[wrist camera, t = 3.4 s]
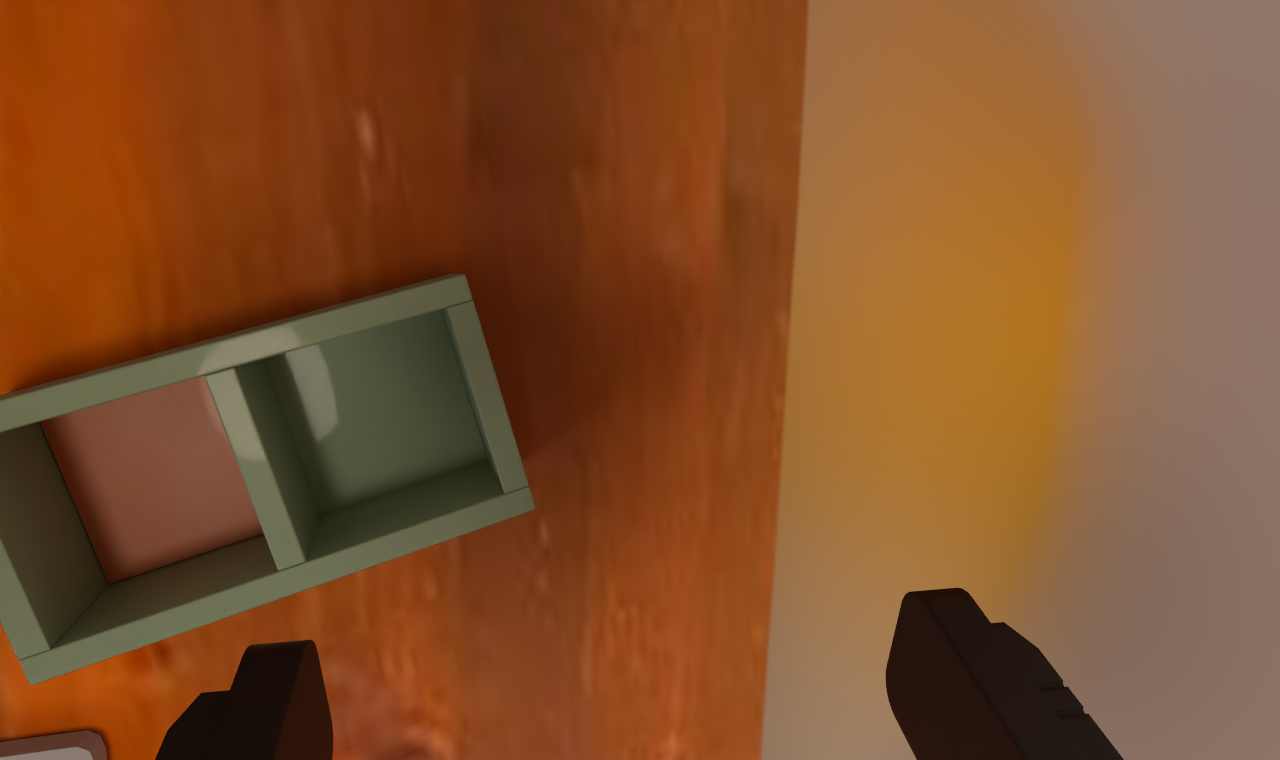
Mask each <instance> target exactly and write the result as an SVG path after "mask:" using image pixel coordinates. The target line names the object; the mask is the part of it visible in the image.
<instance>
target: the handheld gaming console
mask: <svg viewBox="0 0 1280 760" xmlns="http://www.w3.org/2000/svg"><path fill="white" fill-rule="evenodd" d="M0 760H107V753H106V747H105V745H104V742H103V740H102V738H101V736H100V734H97V733H94V732H92V731H89V730H85V731H77V732H70V733H63V734H55V735H48V736H40V737H33V738H26V739H18V740H11V741H4V742H0Z"/></svg>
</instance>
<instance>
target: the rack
mask: <svg viewBox="0 0 1280 760" xmlns="http://www.w3.org/2000/svg"><path fill="white" fill-rule="evenodd" d="M535 509H536V506H535V503H534V500H533V496H532V493H531V490H530V487H529V483H528V480H527V476H526V473H525V470H524V466H523V463H522V460H521V457H520V453H519V450H518V447H517V443H516V440H515V437H514V433H513V430H512V427H511V423H510V420H509V417H508V414H507V410H506V407H505V404H504V400H503V397H502V394H501V390H500V387H499V384H498V380H497V377H496V374H495V371H494V367H493V364H492V361H491V357H490V354H489V351H488V347H487V344H486V341H485V337H484V334H483V331H482V327H481V324H480V321H479V318H478V314H477V311H476V308H475V304H474V302H473V301H472V295H471V291H470V288H469V285H468V281H467V278H466V276H465V275H464V274H447V275H443V276H440V277H436V278H432V279H429V280H425V281H421V282H417V283H414V284H410V285H406V286H403V287H399V288H395V289H392V290H388V291H384V292H380V293H377V294H373V295H369V296H366V297H362V298H358V299H355V300H351V301H347V302H343V303H340V304H336V305H332V306H329V307H325V308H321V309H317V310H314V311H310V312H306V313H303V314H299V315H295V316H292V317H288V318H284V319H280V320H277V321H273V322H269V323H266V324H262V325H258V326H255V327H251V328H247V329H243V330H240V331H236V332H232V333H229V334H225V335H221V336H218V337H214V338H210V339H206V340H203V341H199V342H195V343H192V344H188V345H184V346H180V347H177V348H173V349H169V350H166V351H162V352H158V353H155V354H151V355H147V356H143V357H140V358H136V359H132V360H129V361H125V362H121V363H118V364H114V365H110V366H106V367H103V368H99V369H95V370H92V371H88V372H84V373H81V374H77V375H73V376H69V377H66V378H62V379H58V380H55V381H51V382H47V383H43V384H40V385H36V386H32V387H29V388H25V389H21V390H18V391H14V392H10V393H7V394H4V395H1V396H0V622H1V624H2V627H3V629H4V631H5V633H6V635H7V637H8V640H9V642H10V644H11V646H12V648H13V650H14V653H15V655H16V657H17V659H18V660H20V664H21V666H22V669H23V671H24V673H25V675H26V677H27V679H28V682H29V684H30V685H35V684H38V683H40V682H43V681H46V680H49V679H52V678H55V677H58V676H60V675H63V674H66V673H69V672H72V671H75V670H78V669H80V668H83V667H86V666H89V665H92V664H95V663H98V662H100V661H103V660H106V659H109V658H112V657H115V656H118V655H120V654H123V653H126V652H129V651H132V650H135V649H138V648H141V647H143V646H146V645H149V644H152V643H155V642H158V641H161V640H163V639H166V638H169V637H172V636H175V635H178V634H181V633H183V632H186V631H189V630H192V629H195V628H198V627H201V626H203V625H206V624H209V623H212V622H215V621H218V620H221V619H223V618H226V617H229V616H232V615H235V614H238V613H241V612H243V611H246V610H249V609H252V608H255V607H258V606H261V605H263V604H266V603H269V602H272V601H275V600H278V599H281V598H284V597H286V596H289V595H292V594H295V593H298V592H301V591H304V590H306V589H309V588H312V587H315V586H318V585H321V584H324V583H326V582H329V581H332V580H335V579H338V578H341V577H344V576H346V575H349V574H352V573H355V572H358V571H361V570H364V569H366V568H369V567H372V566H375V565H378V564H381V563H384V562H386V561H389V560H392V559H395V558H398V557H401V556H404V555H406V554H409V553H412V552H415V551H418V550H421V549H424V548H427V547H429V546H432V545H435V544H438V543H441V542H444V541H447V540H449V539H452V538H455V537H458V536H461V535H464V534H467V533H469V532H472V531H475V530H478V529H481V528H484V527H487V526H489V525H492V524H495V523H498V522H501V521H504V520H507V519H509V518H512V517H515V516H518V515H521V514H524V513H527V512H529V511H532V510H535Z"/></svg>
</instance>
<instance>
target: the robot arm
mask: <svg viewBox="0 0 1280 760" xmlns="http://www.w3.org/2000/svg"><path fill="white" fill-rule="evenodd" d="M886 688H887V694H888V698H889V702H890V706H891V709H892V711H893V714H894V716H895V718H896V720H897V722H898V723H899V726H900V727H901V730H902V732H903V734H904V735H905V737H906V739H907V741H908V743H909V745H910V747H911V749H912V751H913V753H914V755H915V757H916V759H917V760H1123V758H1122V757H1121V756H1120V754H1119V753H1118V752H1117V750H1116V749H1115V748H1114V746H1113V745H1112V744H1111V743H1110V741H1109V740H1108V739H1107V737H1106V736H1105V735H1104V733H1103V732H1102V731H1101V729H1100V728H1099V727H1098V726H1097V724H1096V723H1095V722H1094V720H1093V719H1092V718H1091V716H1090V715H1089V714H1085V713H1084V711H1083V706H1082V705H1081V703H1080V702H1079V701H1078V699H1077V698H1076V697H1075V696H1074V694H1073V693H1072V692H1071V690H1070V689H1069V688H1068V687H1064V685H1063V680H1062V679H1061V677H1060V676H1059V675H1058V673H1057V672H1056V671H1055V669H1054V668H1053V667H1052V666H1051V664H1050V663H1049V662H1048V660H1047V659H1046V658H1045V656H1044V655H1043V654H1042V653H1041V651H1040V650H1039V649H1038V648H1037V647H1036V646H1034V645H1033V644H1032V643H1030V642H1029V641H1028V640H1027V639H1025V638H1024V637H1022V636H1021V635H1020V634H1019V633H1017V632H1016V631H1015V630H1013V629H1012V628H1011V627H1009V626H1008V625H1007V624H1005V623H1004V622H1001V623H990V621H989V620H988V619H987V617H986V616H985V615H984V613H983V612H982V610H981V609H980V608H979V606H978V605H977V604H976V602H975V601H974V599H973V598H972V597H971V596H970V594H969V593H968V592H966V591H965V590H964V589H961V588H950V589H938V590H926V591H914V592H909V593H907V594H906V595H905V596H904V598H903V600H902V603H901V608H900V612H899V617H898V620H897V625H896V629H895V633H894V637H893V642H892V646H891V650H890V654H889V659H888V663H887V668H886ZM332 754H333V727H332V720H331V714H330V710H329V705H328V700H327V695H326V690H325V686H324V681H323V676H322V671H321V666H320V662H319V657H318V652H317V648H316V645H315V643H314V641H312V640H303V641H291V642H279V643H267V644H255V645H250V646H249V647H248V648H247V649H246V651H245V652H244V654H243V657H242V659H241V662H240V665H239V667H238V670H237V673H236V675H235V678H234V681H233V684H232V686H231V689H230V690H228V691H217V692H206V693H201V694H200V695H199V696H198V697H197V698H196V699H195V700H194V702H193V703H192V704H191V705H190V706H189V707H188V708H187V709H186V710H185V712H184V713H183V714H182V715H181V716H180V717H179V718H178V719H177V721H176V722H175V723H174V724H173V725H172V726H171V727H170V728H169V729H168V731H167V733H166V736H165V738H164V740H163V742H162V745H161V747H160V749H159V752H158V754H157V756H156V759H155V760H332Z"/></svg>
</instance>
